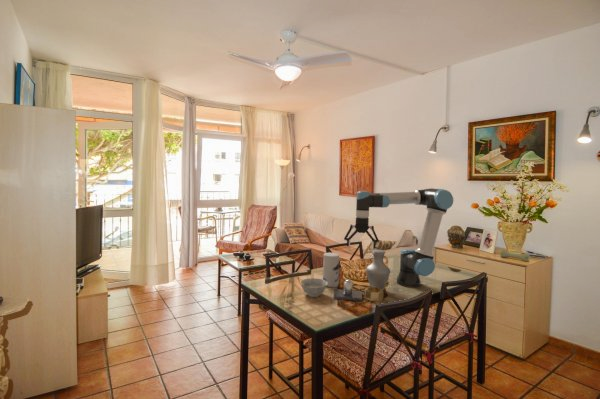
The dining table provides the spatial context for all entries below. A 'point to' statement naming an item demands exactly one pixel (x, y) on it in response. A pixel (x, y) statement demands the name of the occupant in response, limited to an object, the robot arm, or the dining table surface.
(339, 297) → the piston block
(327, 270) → the container
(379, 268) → the vase
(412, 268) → the robot arm
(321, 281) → the bowl
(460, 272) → the dining table surface
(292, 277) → the dining table surface
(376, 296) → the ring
